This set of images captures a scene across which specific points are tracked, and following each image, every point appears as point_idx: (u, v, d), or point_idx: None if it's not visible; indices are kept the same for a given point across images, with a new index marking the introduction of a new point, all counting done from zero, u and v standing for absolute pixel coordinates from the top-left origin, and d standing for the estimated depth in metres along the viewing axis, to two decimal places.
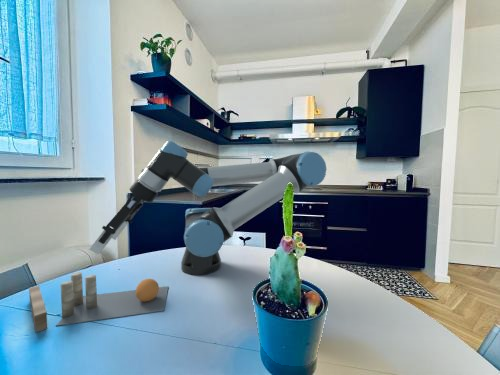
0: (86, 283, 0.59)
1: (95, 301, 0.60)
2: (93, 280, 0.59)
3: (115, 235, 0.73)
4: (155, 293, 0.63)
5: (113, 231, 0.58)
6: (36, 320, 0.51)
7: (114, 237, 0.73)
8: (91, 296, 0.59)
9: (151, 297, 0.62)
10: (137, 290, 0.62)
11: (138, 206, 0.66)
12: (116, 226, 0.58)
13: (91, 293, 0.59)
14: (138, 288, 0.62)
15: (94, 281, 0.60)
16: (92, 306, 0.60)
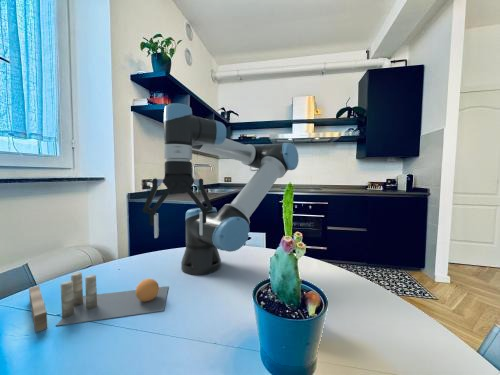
0: (86, 283, 0.59)
1: (95, 301, 0.60)
2: (93, 280, 0.59)
3: (158, 231, 0.64)
4: (155, 293, 0.63)
5: None
6: (36, 320, 0.51)
7: (158, 233, 0.64)
8: (91, 296, 0.59)
9: (151, 297, 0.62)
10: (137, 290, 0.62)
11: None
12: None
13: (91, 293, 0.59)
14: (138, 288, 0.62)
15: (94, 281, 0.60)
16: (92, 306, 0.60)
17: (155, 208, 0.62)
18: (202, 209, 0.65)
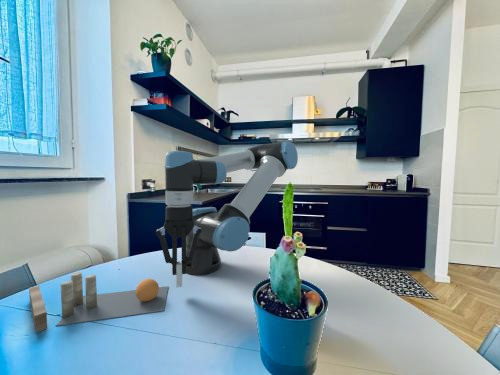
0: (86, 283, 0.59)
1: (95, 301, 0.60)
2: (93, 280, 0.59)
3: None
4: (155, 293, 0.63)
5: None
6: (36, 320, 0.51)
7: None
8: (91, 296, 0.59)
9: (151, 297, 0.62)
10: (137, 290, 0.62)
11: None
12: None
13: (91, 293, 0.59)
14: (138, 288, 0.62)
15: (94, 281, 0.60)
16: (92, 306, 0.60)
17: (174, 257, 0.64)
18: (183, 259, 0.65)
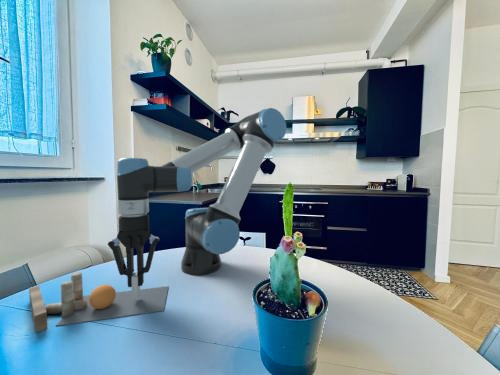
0: (51, 313, 0.57)
1: (76, 302, 0.59)
2: (48, 307, 0.57)
3: None
4: (90, 303, 0.58)
5: None
6: (36, 320, 0.51)
7: None
8: None
9: (92, 301, 0.57)
10: (111, 300, 0.60)
11: None
12: None
13: None
14: (111, 302, 0.60)
15: (51, 305, 0.57)
16: (80, 305, 0.59)
17: (129, 269, 0.61)
18: (138, 271, 0.62)
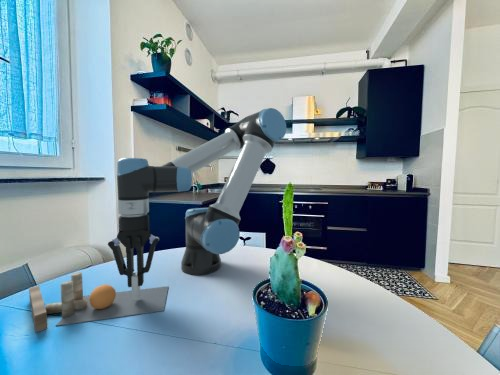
0: (51, 312, 0.57)
1: (77, 301, 0.59)
2: (49, 306, 0.57)
3: None
4: (90, 303, 0.58)
5: None
6: (36, 320, 0.51)
7: None
8: None
9: (92, 301, 0.57)
10: (111, 300, 0.60)
11: None
12: None
13: None
14: (111, 302, 0.60)
15: (51, 305, 0.58)
16: (80, 304, 0.59)
17: (129, 269, 0.61)
18: (138, 271, 0.62)
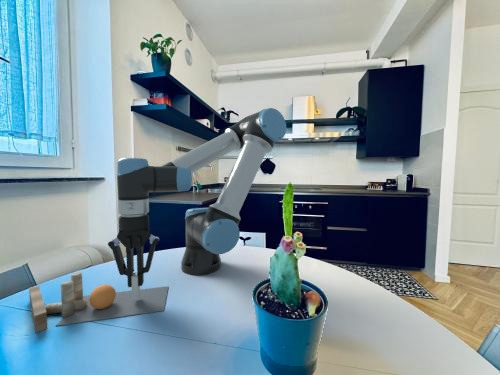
0: (51, 312, 0.57)
1: (77, 302, 0.59)
2: (48, 307, 0.57)
3: None
4: (90, 303, 0.58)
5: None
6: (36, 320, 0.51)
7: None
8: None
9: (92, 301, 0.57)
10: (111, 300, 0.60)
11: None
12: None
13: None
14: (111, 302, 0.60)
15: (51, 305, 0.57)
16: (80, 304, 0.59)
17: (129, 269, 0.61)
18: (138, 271, 0.62)
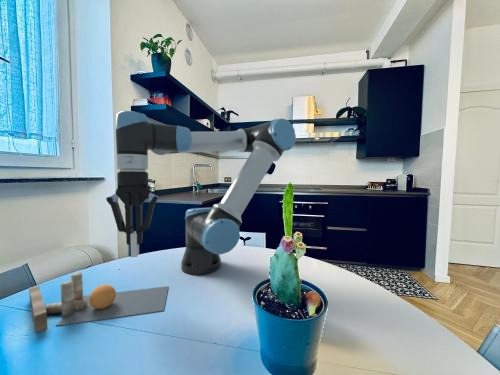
0: (51, 312, 0.57)
1: (76, 302, 0.59)
2: (48, 307, 0.57)
3: None
4: (90, 303, 0.58)
5: None
6: (36, 320, 0.51)
7: None
8: None
9: (92, 301, 0.57)
10: (111, 300, 0.60)
11: None
12: (150, 221, 0.64)
13: None
14: (111, 302, 0.60)
15: (51, 305, 0.57)
16: (80, 304, 0.59)
17: (128, 226, 0.60)
18: (137, 228, 0.61)
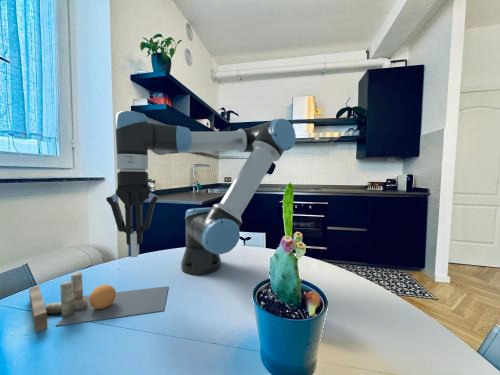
0: (51, 312, 0.57)
1: (77, 301, 0.59)
2: (49, 306, 0.57)
3: None
4: (90, 303, 0.58)
5: None
6: (36, 320, 0.51)
7: None
8: None
9: (92, 301, 0.57)
10: (111, 300, 0.60)
11: None
12: (150, 221, 0.64)
13: None
14: (111, 302, 0.60)
15: (51, 305, 0.58)
16: (80, 304, 0.59)
17: (128, 226, 0.60)
18: (137, 228, 0.61)
